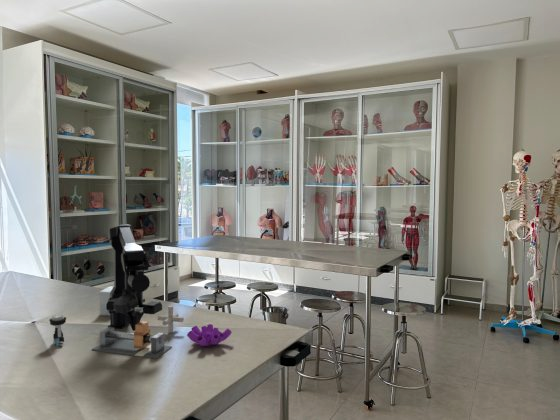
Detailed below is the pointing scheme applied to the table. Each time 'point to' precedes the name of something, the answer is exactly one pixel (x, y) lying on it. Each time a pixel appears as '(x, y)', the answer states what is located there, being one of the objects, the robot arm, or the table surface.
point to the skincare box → (104, 300)
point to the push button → (58, 329)
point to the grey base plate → (130, 349)
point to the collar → (141, 334)
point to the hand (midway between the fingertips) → (134, 330)
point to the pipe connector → (170, 319)
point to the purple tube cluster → (208, 335)
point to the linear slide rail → (110, 334)
